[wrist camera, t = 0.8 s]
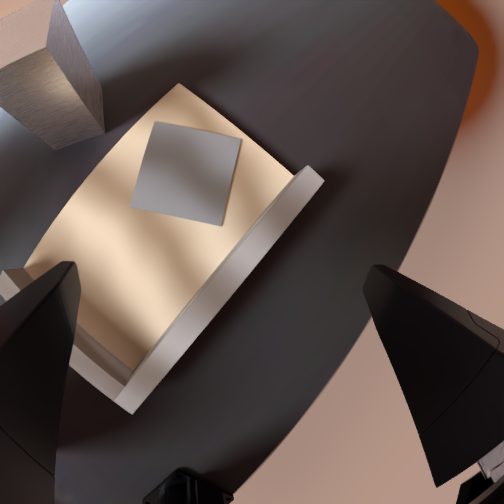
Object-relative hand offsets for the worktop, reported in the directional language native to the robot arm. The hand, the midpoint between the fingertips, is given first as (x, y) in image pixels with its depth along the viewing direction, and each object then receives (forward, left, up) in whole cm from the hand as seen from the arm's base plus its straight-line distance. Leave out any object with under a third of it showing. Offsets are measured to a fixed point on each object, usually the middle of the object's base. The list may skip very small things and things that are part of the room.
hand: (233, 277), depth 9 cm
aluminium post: (+2, +16, -14) cm, 21 cm away
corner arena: (-1, +5, -14) cm, 14 cm away
